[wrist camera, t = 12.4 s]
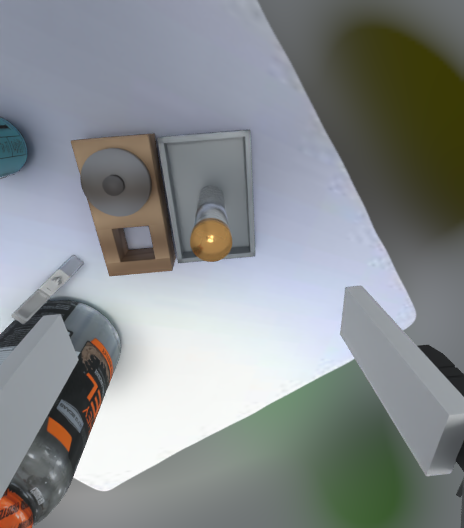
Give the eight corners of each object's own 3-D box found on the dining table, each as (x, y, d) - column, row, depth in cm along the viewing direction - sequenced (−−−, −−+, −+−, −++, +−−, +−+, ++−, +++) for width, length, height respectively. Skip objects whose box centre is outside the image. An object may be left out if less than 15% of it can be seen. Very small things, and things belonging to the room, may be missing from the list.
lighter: (73, 254, 40) (43, 283, 33) (84, 262, 41) (56, 292, 34) (42, 285, 42) (7, 319, 35) (53, 292, 42) (20, 327, 35)
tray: (161, 136, 34) (157, 137, 32) (247, 129, 35) (250, 130, 32) (180, 254, 41) (178, 263, 39) (252, 248, 41) (255, 256, 39)
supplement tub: (108, 384, 51) (21, 605, 28) (11, 358, 47) (-186, 588, 24) (137, 315, 45) (57, 521, 22) (28, 278, 41) (-209, 480, 18)
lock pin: (196, 186, 37) (187, 224, 23) (223, 183, 37) (230, 220, 23) (199, 212, 38) (192, 263, 24) (225, 210, 38) (233, 259, 24)
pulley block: (85, 138, 34) (58, 142, 28) (154, 133, 34) (142, 135, 28) (118, 262, 41) (102, 286, 35) (175, 257, 41) (169, 280, 35)
